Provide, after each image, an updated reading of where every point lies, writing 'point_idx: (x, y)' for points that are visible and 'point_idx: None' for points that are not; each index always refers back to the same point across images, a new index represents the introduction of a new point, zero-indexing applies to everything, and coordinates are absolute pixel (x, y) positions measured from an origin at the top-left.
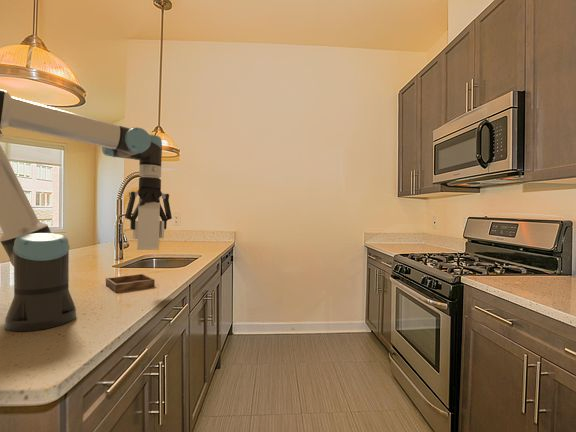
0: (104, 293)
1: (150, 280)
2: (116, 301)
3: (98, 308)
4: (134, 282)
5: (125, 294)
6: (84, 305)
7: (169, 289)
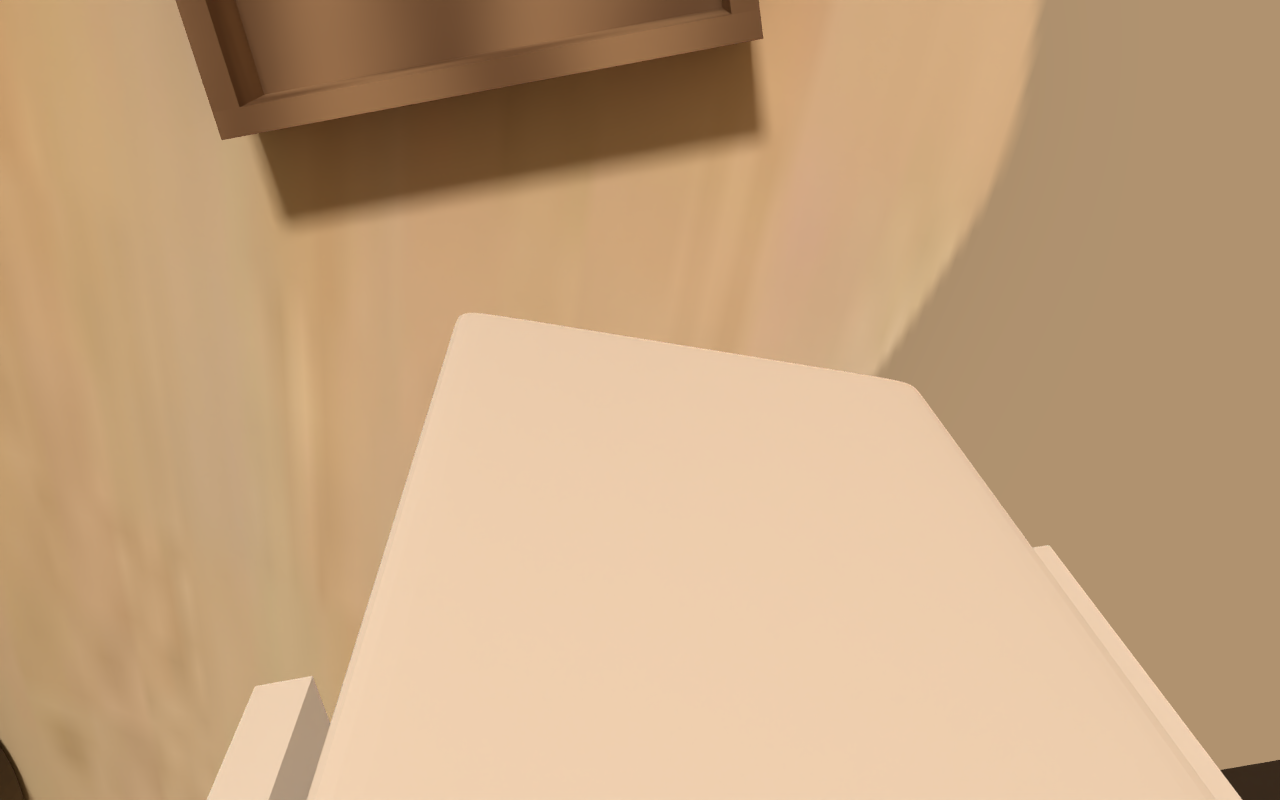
0: (124, 105)
1: (701, 48)
2: (289, 516)
3: (155, 659)
4: (471, 90)
5: (371, 280)
6: (10, 519)
7: (873, 284)
